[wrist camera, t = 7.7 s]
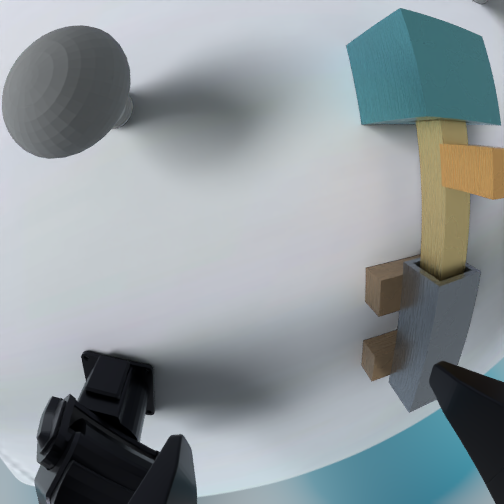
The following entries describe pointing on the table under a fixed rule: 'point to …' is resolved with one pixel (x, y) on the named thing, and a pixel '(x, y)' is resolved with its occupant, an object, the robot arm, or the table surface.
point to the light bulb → (67, 92)
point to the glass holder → (480, 1)
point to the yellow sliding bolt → (452, 191)
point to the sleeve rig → (408, 112)
